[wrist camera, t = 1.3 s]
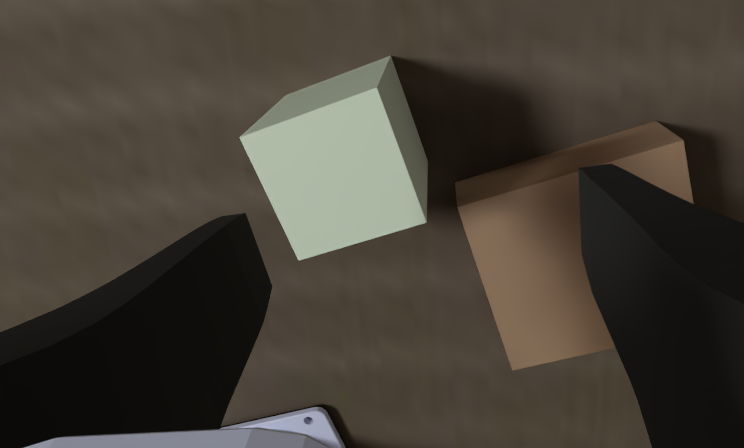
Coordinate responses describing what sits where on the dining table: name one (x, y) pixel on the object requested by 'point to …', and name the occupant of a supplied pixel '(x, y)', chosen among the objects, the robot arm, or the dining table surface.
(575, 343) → the walnut slab
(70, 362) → the robot arm
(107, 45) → the dining table surface
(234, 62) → the dining table surface
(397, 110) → the sage block
